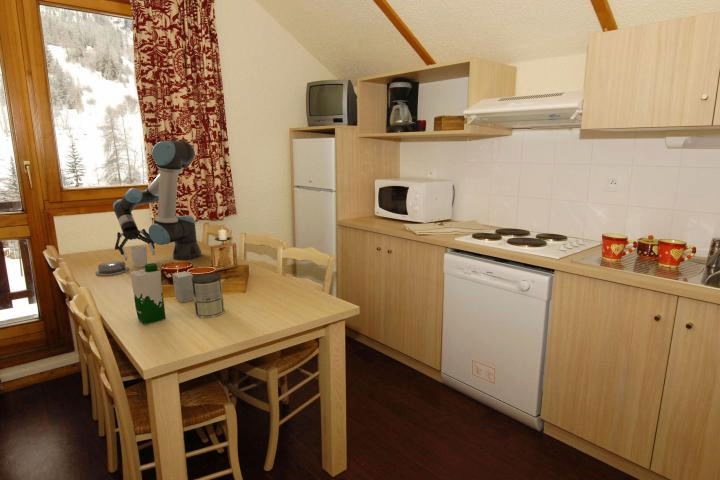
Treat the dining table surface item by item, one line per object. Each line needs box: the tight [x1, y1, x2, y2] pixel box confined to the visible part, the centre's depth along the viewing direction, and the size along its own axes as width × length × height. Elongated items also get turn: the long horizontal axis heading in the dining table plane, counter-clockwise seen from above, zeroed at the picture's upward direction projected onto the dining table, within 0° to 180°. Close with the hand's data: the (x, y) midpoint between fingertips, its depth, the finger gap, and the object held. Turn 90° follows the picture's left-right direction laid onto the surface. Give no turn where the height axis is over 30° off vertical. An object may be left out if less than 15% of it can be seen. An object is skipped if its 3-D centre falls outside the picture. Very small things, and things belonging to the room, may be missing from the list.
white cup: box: [129, 244, 149, 268], centre depth 239 cm, size 8×8×10 cm
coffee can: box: [192, 272, 226, 319], centre depth 167 cm, size 10×10×14 cm
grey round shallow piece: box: [95, 260, 130, 277], centre depth 229 cm, size 15×15×4 cm
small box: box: [171, 271, 194, 303], centre depth 183 cm, size 8×6×10 cm
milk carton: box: [130, 262, 166, 325], centre depth 161 cm, size 9×9×20 cm
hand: (140, 256), depth 237 cm, fingers open, 13 cm apart
